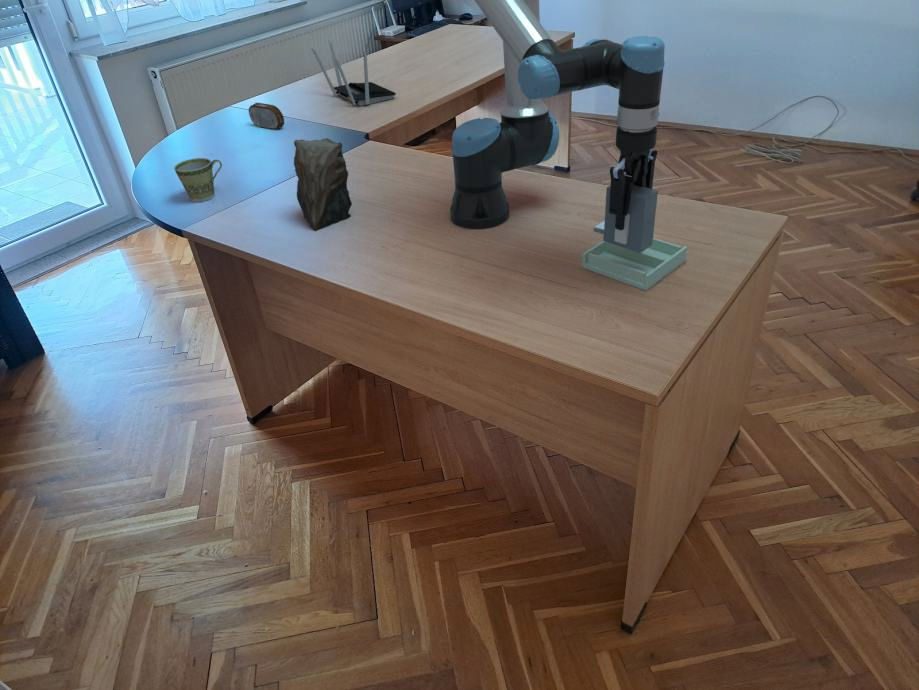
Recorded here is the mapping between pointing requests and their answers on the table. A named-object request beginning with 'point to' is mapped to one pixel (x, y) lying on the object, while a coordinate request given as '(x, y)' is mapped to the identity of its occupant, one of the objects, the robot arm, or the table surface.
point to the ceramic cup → (197, 178)
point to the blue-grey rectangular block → (634, 219)
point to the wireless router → (356, 85)
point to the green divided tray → (634, 262)
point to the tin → (266, 116)
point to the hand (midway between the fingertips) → (627, 237)
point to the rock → (321, 182)
